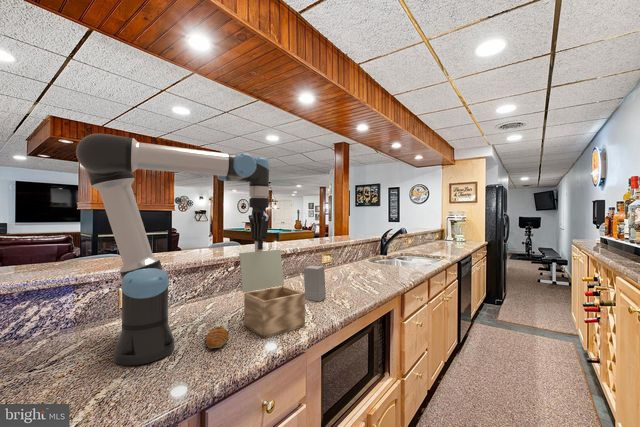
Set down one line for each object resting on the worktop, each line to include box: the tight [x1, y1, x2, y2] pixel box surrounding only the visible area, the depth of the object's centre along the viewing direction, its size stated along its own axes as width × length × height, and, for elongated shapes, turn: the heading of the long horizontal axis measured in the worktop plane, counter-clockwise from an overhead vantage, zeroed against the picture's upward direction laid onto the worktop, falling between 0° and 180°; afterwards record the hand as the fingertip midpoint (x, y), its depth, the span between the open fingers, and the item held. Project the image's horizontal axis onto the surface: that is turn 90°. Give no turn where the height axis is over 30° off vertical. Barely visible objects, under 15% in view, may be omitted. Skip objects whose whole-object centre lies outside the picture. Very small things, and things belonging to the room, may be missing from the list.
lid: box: [238, 249, 285, 293], centre depth 115 cm, size 18×14×2 cm
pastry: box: [205, 326, 229, 349], centre depth 92 cm, size 9×7×4 cm
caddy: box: [243, 285, 306, 340], centre depth 108 cm, size 17×14×12 cm
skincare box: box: [303, 265, 327, 302], centre depth 142 cm, size 8×7×16 cm
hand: (258, 257), depth 117 cm, fingers closed
